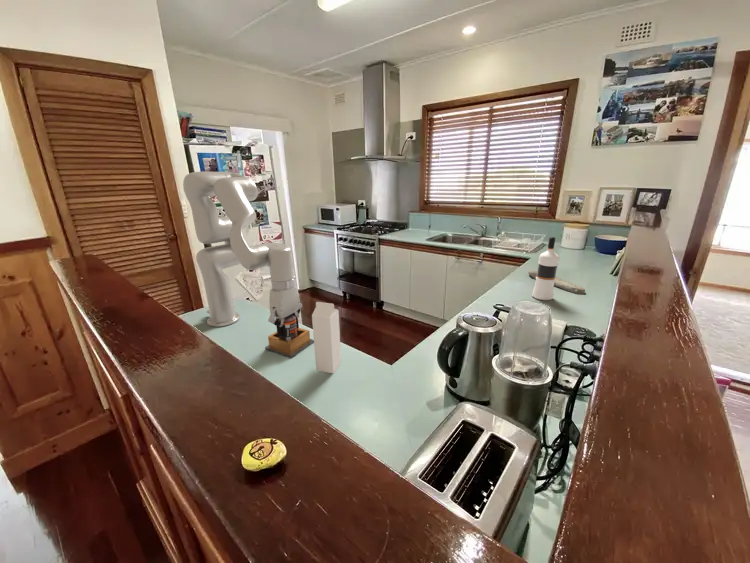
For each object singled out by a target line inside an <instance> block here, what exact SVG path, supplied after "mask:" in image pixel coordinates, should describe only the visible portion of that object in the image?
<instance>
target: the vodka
mask: <svg viewBox="0 0 750 563" xmlns="http://www.w3.org/2000/svg"><path fill="white" fill-rule="evenodd" d="M548 238H549V239H548V245H547V250H545V251H543V252H542V253H540V255H539V257H538V262H537V263H538V264H537V265H538V266H537V270H536V271H537V277H536V279H535V282H534V287H533V290H532V293H531V295H532V297H533V298H534V299H536V300H539V301H551V300H552V299H553V298H554V289H555V288H554V287H555V286H554V282H555V276H556V277H557V272H558V271H557V270H558V265H559V261H560V256H559V255H558V253H556V252H555V251H554V249H555V243H556V237H555V236H554V237H553V236H550V237H548Z"/></svg>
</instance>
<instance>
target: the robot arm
mask: <svg viewBox="0 0 750 563" xmlns="http://www.w3.org/2000/svg"><path fill="white" fill-rule="evenodd" d="M183 178H184V179H183V183H182V186H183V192H184V195H185V197H186V199H187V201H188V203H189V206H190V208H191V213H192V219H193V220H192V221H193V224H194V229H195V230H194V231H195V234H196V238H197V240H198V241H199V243H200V244H203V245H210V244H211V245H212V244H218V243H222V242H224V244H218V245H215V246H214V245H213V246H208V247H203V248H202V249H200V250H199V251H198V252H197V253H196V256H195V259H196V263H197V266H198V268H199V270H200V274H201V277H202V281H203V286H204V290H205V296H206V301H207V305H208V310H206V313H207V314H209V318H208V319H207V320H206V323H207V325H209V326H210V327H214V328H215V327H216V328H217V327H218V328H219V327H225V326H230V325H233V324H235V323H237V322H238V321H239V320H240V318H241V314H240V313H239V312H236V310H235V303H234V297H233V290H232V285H231V279H230V277H229V275H227V274H226V273H225V272H224V271H223V270H225V269H227V268H231V267H232V268H233V267H235V266H238V265H241V266H242V267H243V268H245V269H246V270H248V271H254V270H257V269H261V268H264V267H268V266H269V275H270V284H271V289H270V291H269V300H268V301H269V314H270V315H269V317H268V319H267V321H268V322H269V323H271V324H272V325H274V326H276V332H277V334H278V335H279V336H282V337H285V326H283V322H284V318H285V317H287V316H289V315H291V314H292V313H293V315H294V316H295V317H296V325H297V329H298V328H300V327H299V318H300V313H301V309H302V308H303V303H302V302H301V301H300V297H299V291H298V287H297V285H296V281H295V280H296V276H295V270H294V259H293V252H292V248H291V247H290V246H286V245H280V244H278V243H276V242H266V243H260V244H256V245H251V246H249V245H248V243H247V242H246V240H245V238H244V234H243V230H244V229H246V228H247V227H249V225H251V224H253V223H254V221H255V220H256V218H257V213H256V211H255V210H254V207H253V206H252V204H251V202H254V201H255V200H256V199H257V198H258V194H259V193H258V192H259V191H258V187H257V185H256V183H255V182H254V180H252V179H251V178H250V177H247V176H244V175H241V174H238V173H235V172H231V171H207V170H205V171H204V170H203V171H193V172H189V173H188V174H186V175H185V176H184V177H183ZM211 197H216V198H217V200H218V201H219V204H220V205H221V207H222V209H223V210H224V212H225V213H226V216H221V217H219V214H218V213H219V212H218V209H217V205H216V203H215V202H214V201H213V200H212V199H211ZM279 319H280V322H279Z"/></svg>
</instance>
